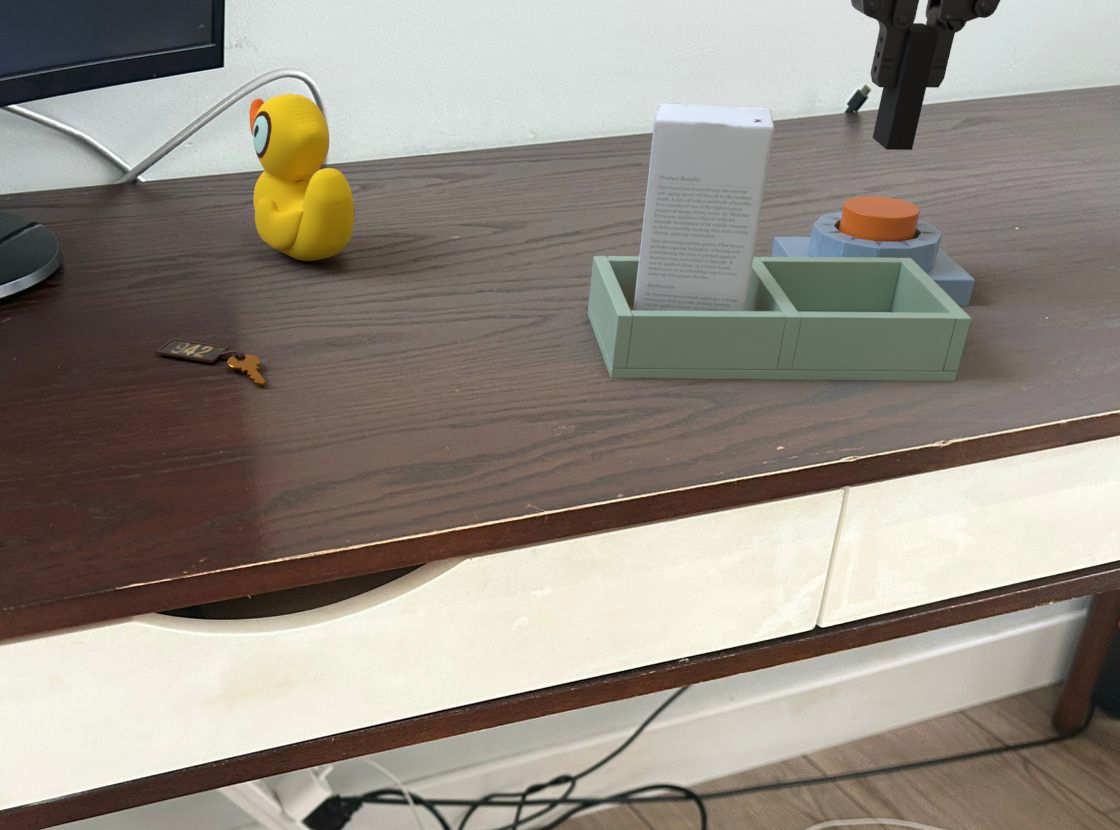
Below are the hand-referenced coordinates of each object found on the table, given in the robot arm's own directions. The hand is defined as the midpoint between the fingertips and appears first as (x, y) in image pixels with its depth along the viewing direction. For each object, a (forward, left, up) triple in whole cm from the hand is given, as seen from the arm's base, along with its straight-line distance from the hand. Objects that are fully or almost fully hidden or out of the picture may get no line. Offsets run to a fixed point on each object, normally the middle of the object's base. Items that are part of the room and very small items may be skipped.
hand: (892, 143), depth 82 cm
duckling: (+36, -5, -9) cm, 37 cm away
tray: (+9, +11, -9) cm, 16 cm away
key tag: (+40, +14, -9) cm, 43 cm away
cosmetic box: (+13, +11, -8) cm, 19 cm away
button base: (0, 0, -9) cm, 9 cm away
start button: (0, 0, -6) cm, 6 cm away
